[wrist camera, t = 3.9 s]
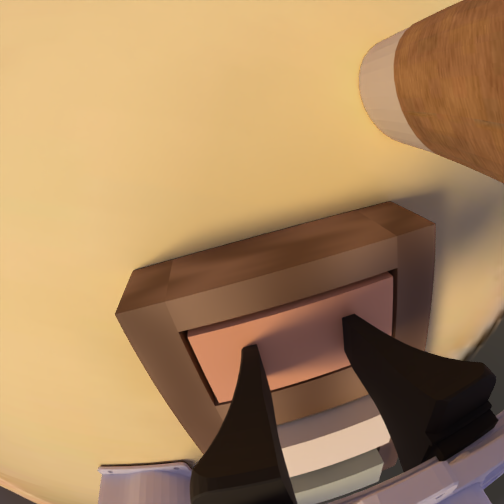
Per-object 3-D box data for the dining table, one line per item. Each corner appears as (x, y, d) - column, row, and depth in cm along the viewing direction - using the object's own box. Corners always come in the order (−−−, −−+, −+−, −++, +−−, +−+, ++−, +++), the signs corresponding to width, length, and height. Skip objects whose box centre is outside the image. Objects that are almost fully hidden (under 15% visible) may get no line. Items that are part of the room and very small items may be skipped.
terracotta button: (214, 351, 18) (219, 403, 14) (189, 289, 16) (187, 337, 12) (359, 308, 18) (390, 349, 14) (354, 243, 16) (392, 276, 12)
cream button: (249, 439, 19) (258, 484, 16) (233, 406, 18) (241, 458, 14) (367, 402, 20) (389, 442, 16) (369, 363, 18) (396, 407, 14)
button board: (245, 477, 25) (251, 510, 21) (133, 270, 15) (115, 314, 11) (379, 436, 25) (394, 464, 22) (390, 201, 16) (435, 223, 12)
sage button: (269, 478, 23) (277, 513, 19) (259, 459, 21) (268, 499, 17) (363, 448, 23) (378, 481, 19) (365, 426, 21) (383, 462, 18)
